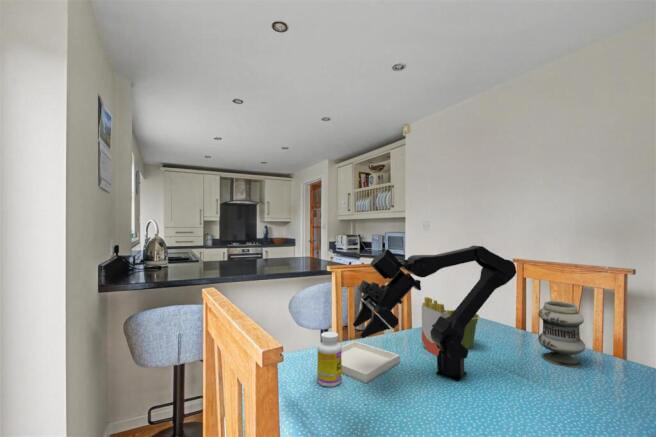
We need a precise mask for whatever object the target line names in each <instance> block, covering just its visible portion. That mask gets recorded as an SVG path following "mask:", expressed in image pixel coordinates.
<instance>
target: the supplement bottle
mask: <svg viewBox="0 0 656 437" xmlns="http://www.w3.org/2000/svg"><path fill="white" fill-rule="evenodd" d="M320 340H321V342H319V344H318V345H317V370H316V371H317V372H316V374H317V378H316V379H317V383H318V384H319V385H321V386H323V387H329V388H330V387H337V386H338V385H340V383H341V382H342V375H343V374H342V348H341V346H342V345H341V343H339V342H338V340H339V333H337V332H335V331H324V332H322V333H321V335H320Z"/></svg>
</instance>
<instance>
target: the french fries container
mask: <svg viewBox="0 0 656 437" xmlns="http://www.w3.org/2000/svg"><path fill="white" fill-rule="evenodd" d="M446 311H447V312H446ZM450 315H451V311H450V310H449V309H447V310H446V309H445V304H443V303H438V300H435V299H434V300H433V298H431V297H427V296H424V302H422V304H421V341H422V343H423V345H424V348H425V350H426V351H427V352H429V353H430V354H432V355H434V356H435V357H437V356H438V355H439V351H440V349H439V348H437V345H436V343H435V342H433V340H432V338H431V333H430V332H431V330H432V328H433V327H432V325H433V324H435V323H436V321H437V320H438V318H439V317H440V316H442V317H443V318H447V317H449V316H450Z"/></svg>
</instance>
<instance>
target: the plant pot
mask: <svg viewBox="0 0 656 437" xmlns="http://www.w3.org/2000/svg"><path fill="white" fill-rule="evenodd" d="M455 310H456V309H452V310H450V311H451V314H452V313H453V312H454V311H455ZM446 312H447V310H446ZM479 318H480V315H479V314H478V313H476V314H475V316H474V317H473V318H472V319H471V321H470V322H469V323H468V324H467V326H466V327H465V331H464V337H463V340H462V341H461V344H462V345H463V346H464V347H465V348H466V349H467V350H468V349H472V348H473V347H474V341H475V336H476V329H477V328H476V327H477V325H478V324H477V323H478V319H479Z"/></svg>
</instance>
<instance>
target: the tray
mask: <svg viewBox="0 0 656 437" xmlns="http://www.w3.org/2000/svg"><path fill="white" fill-rule="evenodd" d="M341 348H342V374H341V375H344V376H347V377H349V378H351V379H355V380H357V381H359V382H362V383H364V384H368V383H370V382H371V381H372V380H374V379H376V378H378V377H380V376H381V375H382V374H384V373H386V372H388V371H389V370H391V369H392V368H394V367H395V366H396V365H398V364H400V363H401V362H400V361H401V355H400V354H399V353H398V354H397V353H395V352H391V351H388V350H385V349H382V348H378V347H376V346H372V345H369V344H365V343H363V342H359V341H356V340H353V341H350V342H349V343H346V344H344V345H341Z"/></svg>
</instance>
